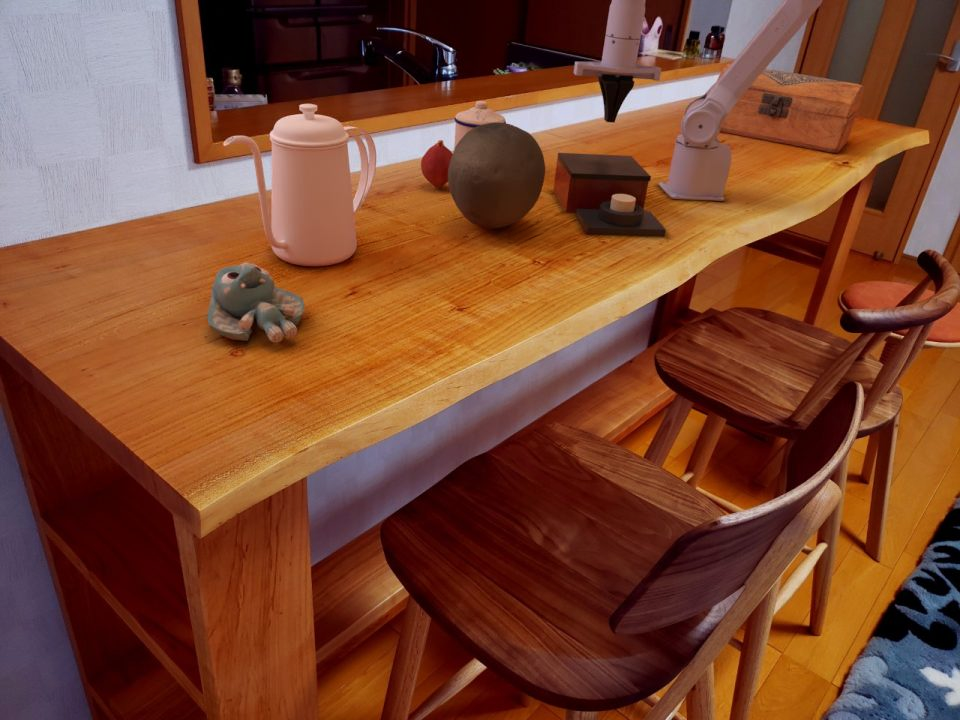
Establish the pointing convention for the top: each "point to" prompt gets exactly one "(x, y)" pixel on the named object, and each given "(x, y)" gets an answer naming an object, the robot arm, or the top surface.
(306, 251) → the coffeepot
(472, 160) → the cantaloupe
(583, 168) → the box lid
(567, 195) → the reddish-brown open box
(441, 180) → the onion
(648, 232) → the switch block
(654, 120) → the top surface
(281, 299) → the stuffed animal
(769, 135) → the wooden box
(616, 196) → the button
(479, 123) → the teacup with lid
